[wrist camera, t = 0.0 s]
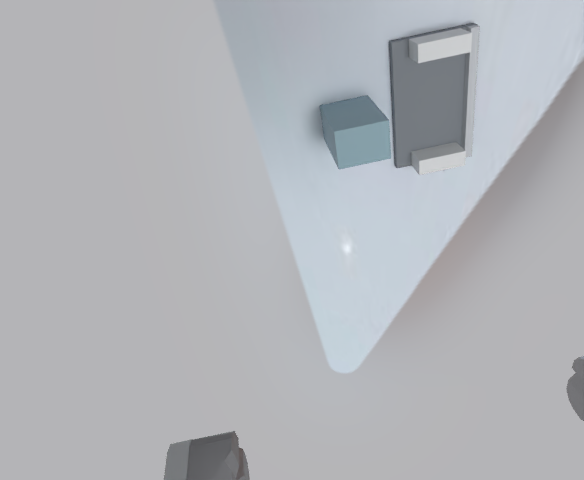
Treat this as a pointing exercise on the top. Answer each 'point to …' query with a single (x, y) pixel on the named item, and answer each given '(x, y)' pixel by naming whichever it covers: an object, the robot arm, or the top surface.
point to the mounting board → (434, 97)
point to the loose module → (356, 132)
